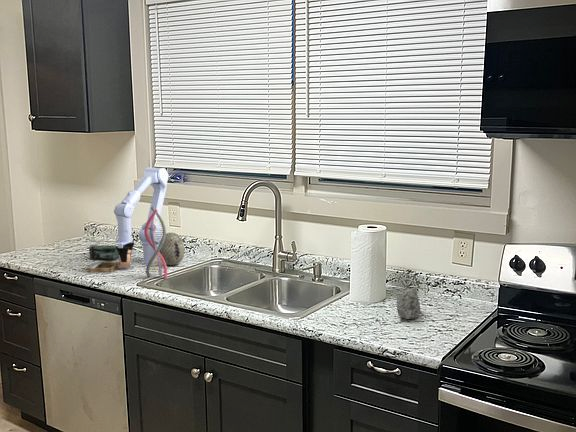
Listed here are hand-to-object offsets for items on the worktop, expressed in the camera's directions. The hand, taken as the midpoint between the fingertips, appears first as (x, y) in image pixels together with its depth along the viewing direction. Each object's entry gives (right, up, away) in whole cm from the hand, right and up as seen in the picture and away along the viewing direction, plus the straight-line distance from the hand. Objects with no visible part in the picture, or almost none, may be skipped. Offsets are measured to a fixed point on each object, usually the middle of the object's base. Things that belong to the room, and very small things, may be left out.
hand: (126, 260), depth 281 cm
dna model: (+17, -7, -14) cm, 23 cm away
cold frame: (-10, -4, 0) cm, 10 cm away
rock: (+114, -15, -63) cm, 131 cm away
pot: (-1, -2, 0) cm, 2 cm away
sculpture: (-15, -1, +19) cm, 24 cm away
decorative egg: (+19, -3, +9) cm, 21 cm away
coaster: (0, -4, +1) cm, 4 cm away
